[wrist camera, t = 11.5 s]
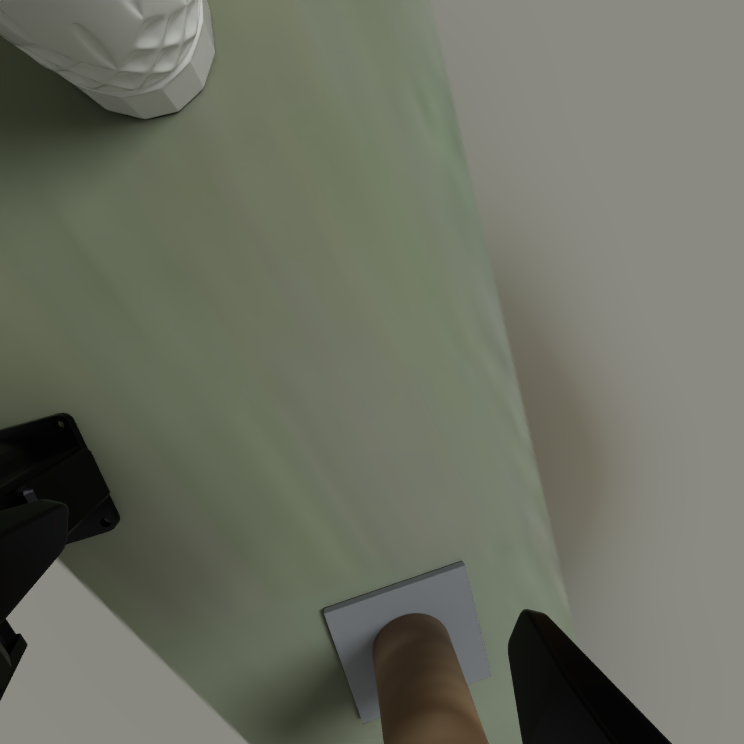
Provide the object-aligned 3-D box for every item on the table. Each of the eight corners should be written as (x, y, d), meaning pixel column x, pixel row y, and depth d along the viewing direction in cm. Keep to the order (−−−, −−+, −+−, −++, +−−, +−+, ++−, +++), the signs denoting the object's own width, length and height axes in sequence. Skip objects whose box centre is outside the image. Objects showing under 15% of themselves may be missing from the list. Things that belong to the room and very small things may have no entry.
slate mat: (362, 717, 25) (363, 723, 24) (323, 608, 23) (323, 613, 22) (488, 669, 26) (491, 675, 25) (462, 560, 24) (464, 565, 23)
